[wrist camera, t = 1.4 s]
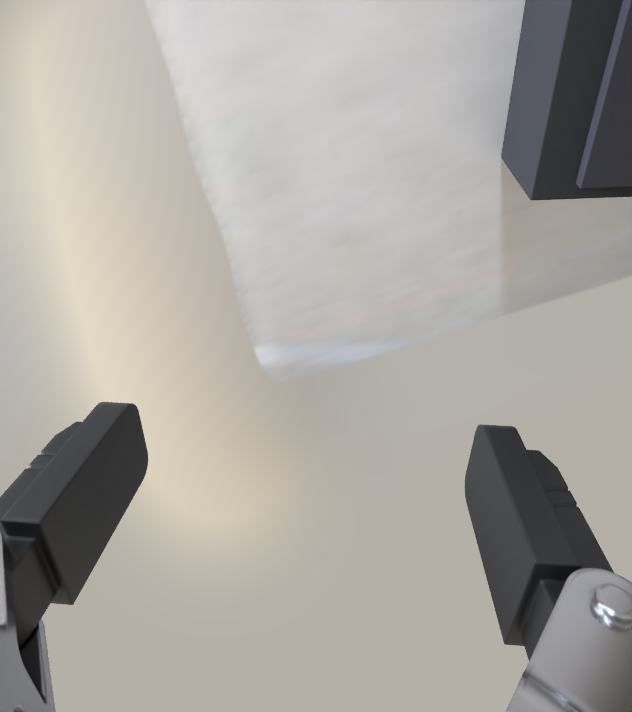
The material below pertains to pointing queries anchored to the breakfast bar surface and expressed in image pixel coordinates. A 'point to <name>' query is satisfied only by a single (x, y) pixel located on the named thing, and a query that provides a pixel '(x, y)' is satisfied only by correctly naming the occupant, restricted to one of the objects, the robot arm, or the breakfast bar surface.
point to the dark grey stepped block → (572, 100)
